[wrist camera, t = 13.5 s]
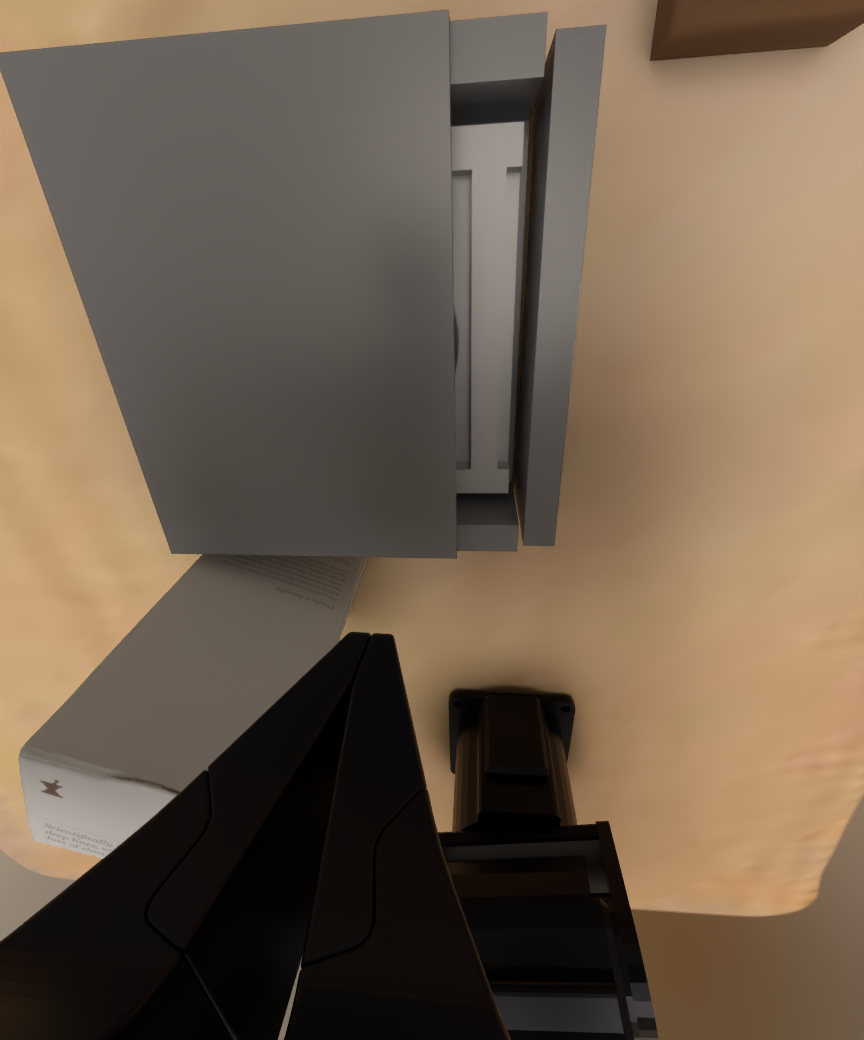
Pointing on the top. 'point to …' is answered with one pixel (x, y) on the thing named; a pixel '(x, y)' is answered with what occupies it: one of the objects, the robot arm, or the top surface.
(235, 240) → the housing
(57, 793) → the skincare box
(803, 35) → the walnut block
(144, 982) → the robot arm
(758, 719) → the top surface
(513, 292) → the tray
